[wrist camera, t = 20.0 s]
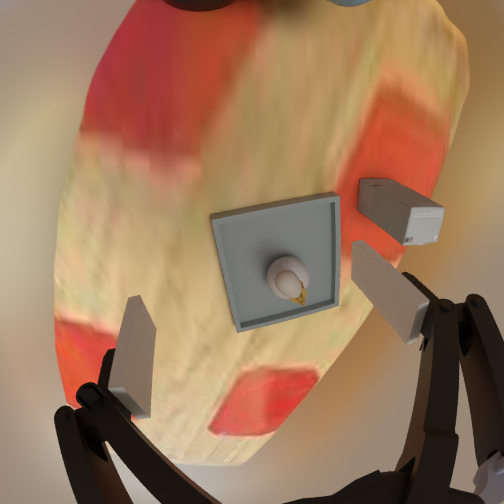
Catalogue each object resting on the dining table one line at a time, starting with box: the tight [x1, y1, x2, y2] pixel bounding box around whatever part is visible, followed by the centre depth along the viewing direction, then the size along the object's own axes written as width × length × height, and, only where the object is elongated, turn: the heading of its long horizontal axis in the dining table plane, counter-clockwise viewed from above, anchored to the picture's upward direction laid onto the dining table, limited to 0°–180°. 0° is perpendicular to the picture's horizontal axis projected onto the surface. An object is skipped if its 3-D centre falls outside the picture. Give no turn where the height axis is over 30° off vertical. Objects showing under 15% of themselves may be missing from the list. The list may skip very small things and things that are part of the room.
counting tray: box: [210, 192, 341, 333], centre depth 51 cm, size 24×22×2 cm
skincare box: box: [357, 178, 445, 246], centre depth 43 cm, size 8×7×16 cm
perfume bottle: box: [267, 256, 309, 306], centre depth 46 cm, size 8×10×12 cm
